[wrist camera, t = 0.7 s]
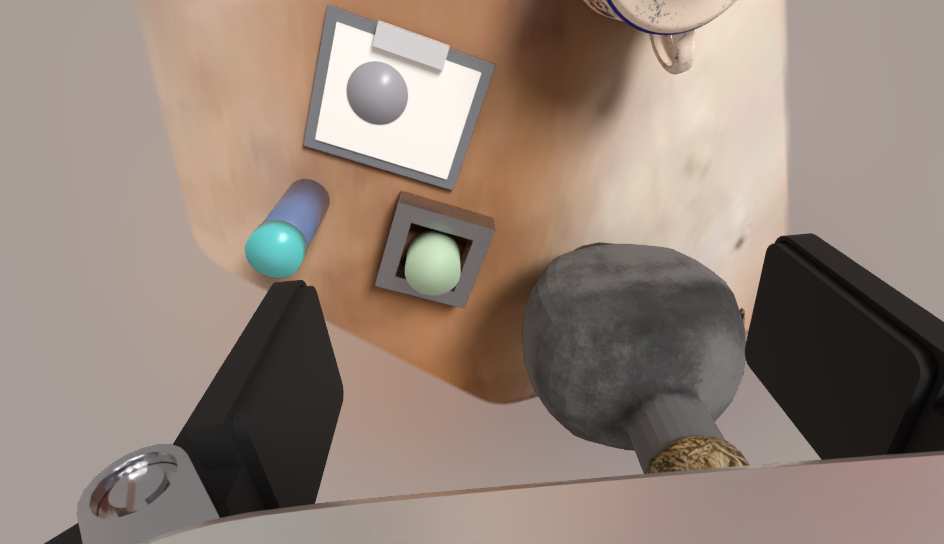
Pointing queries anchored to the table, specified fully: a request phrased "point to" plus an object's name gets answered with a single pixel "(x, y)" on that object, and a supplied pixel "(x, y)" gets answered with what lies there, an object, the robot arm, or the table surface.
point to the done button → (433, 263)
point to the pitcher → (637, 353)
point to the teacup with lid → (665, 24)
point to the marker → (288, 230)
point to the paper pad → (394, 98)
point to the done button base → (440, 219)
